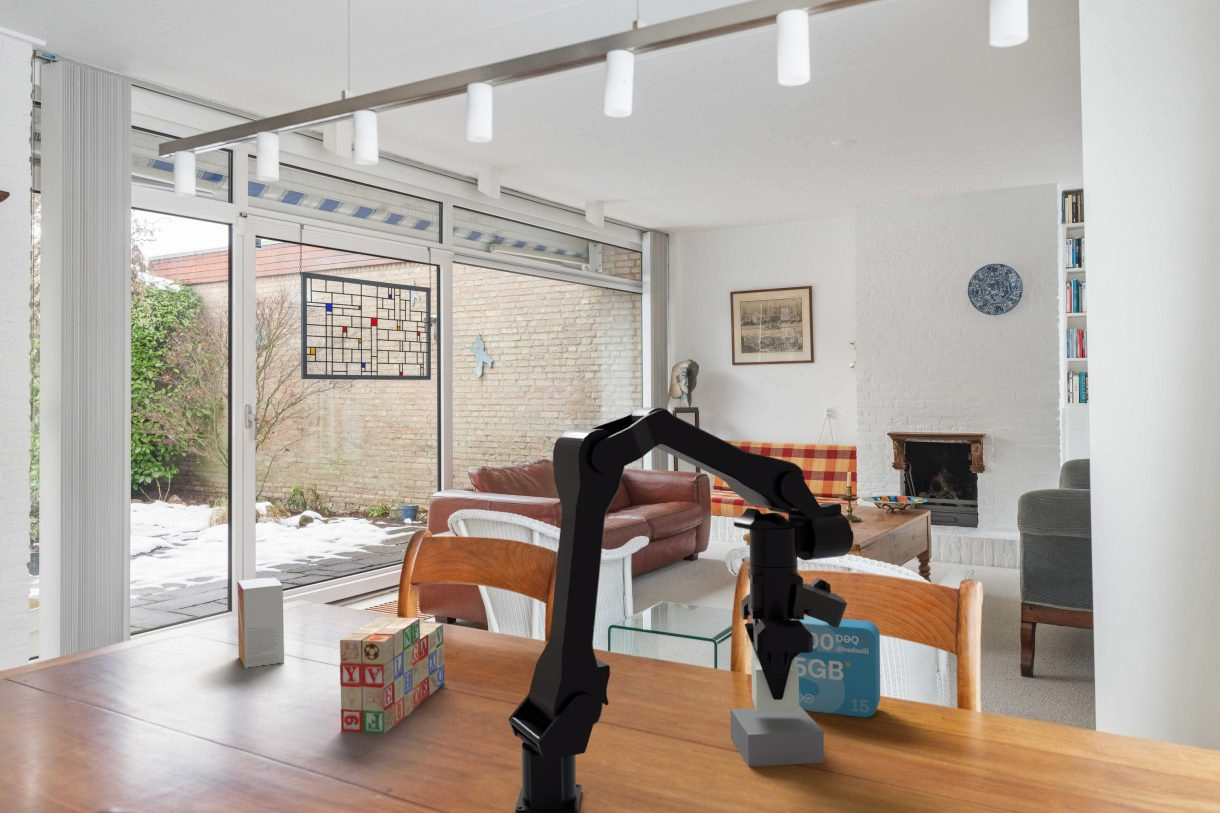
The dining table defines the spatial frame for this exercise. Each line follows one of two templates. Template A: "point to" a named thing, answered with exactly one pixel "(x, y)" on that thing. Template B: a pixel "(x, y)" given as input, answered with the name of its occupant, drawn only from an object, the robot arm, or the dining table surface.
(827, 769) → the dining table surface
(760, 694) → the sage cube
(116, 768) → the dining table surface
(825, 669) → the data package
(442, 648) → the stack of blocks
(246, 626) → the small box
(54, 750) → the dining table surface
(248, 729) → the dining table surface
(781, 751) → the gray square block
